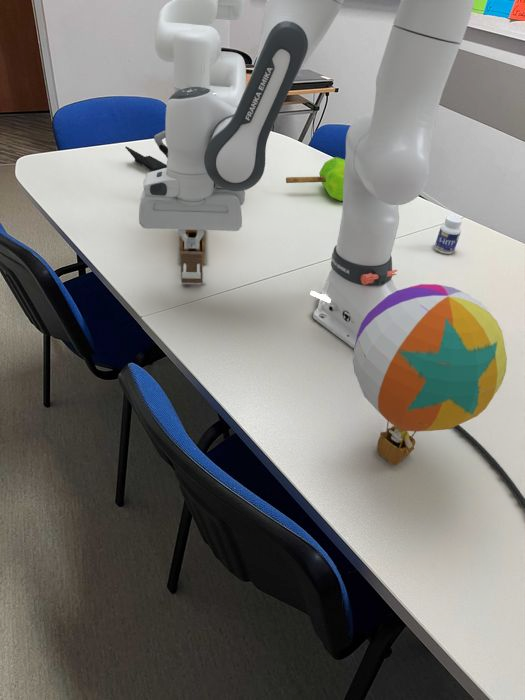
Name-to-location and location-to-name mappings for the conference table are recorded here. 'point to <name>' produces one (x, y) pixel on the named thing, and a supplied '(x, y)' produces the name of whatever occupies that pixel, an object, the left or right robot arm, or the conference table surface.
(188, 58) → the left robot arm
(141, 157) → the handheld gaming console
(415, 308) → the toy
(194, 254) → the drawer
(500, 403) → the conference table surface
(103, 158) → the conference table surface
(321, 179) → the decorative tree
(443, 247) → the pill bottle
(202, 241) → the cabinet
